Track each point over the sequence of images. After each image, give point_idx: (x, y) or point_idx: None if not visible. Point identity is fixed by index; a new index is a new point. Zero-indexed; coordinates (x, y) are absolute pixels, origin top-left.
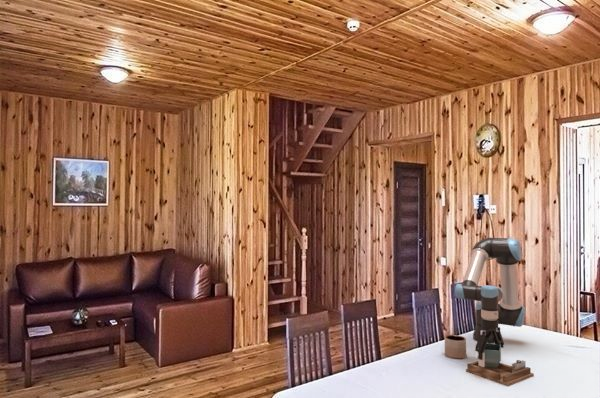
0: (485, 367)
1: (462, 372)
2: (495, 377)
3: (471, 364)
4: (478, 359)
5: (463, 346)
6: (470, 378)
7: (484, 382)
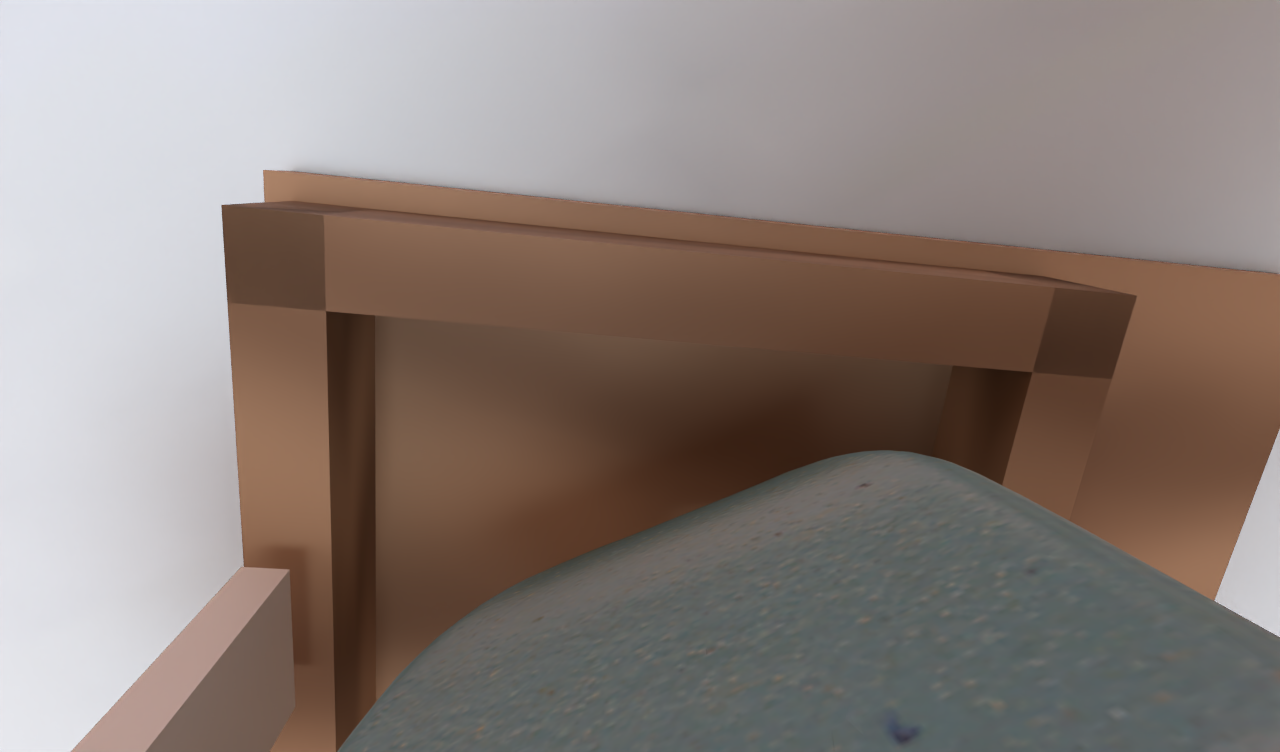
0: (767, 407)
1: (183, 137)
2: None
3: (306, 302)
4: (130, 690)
5: None
6: (40, 440)
7: (123, 684)
